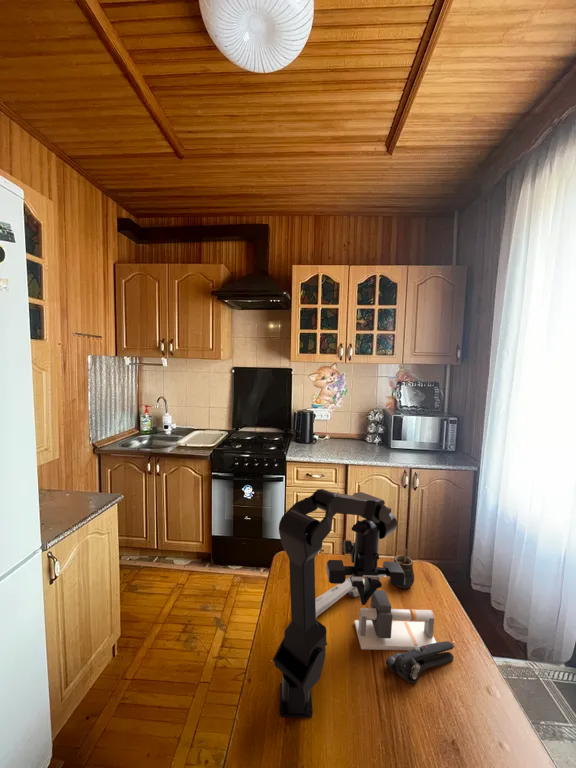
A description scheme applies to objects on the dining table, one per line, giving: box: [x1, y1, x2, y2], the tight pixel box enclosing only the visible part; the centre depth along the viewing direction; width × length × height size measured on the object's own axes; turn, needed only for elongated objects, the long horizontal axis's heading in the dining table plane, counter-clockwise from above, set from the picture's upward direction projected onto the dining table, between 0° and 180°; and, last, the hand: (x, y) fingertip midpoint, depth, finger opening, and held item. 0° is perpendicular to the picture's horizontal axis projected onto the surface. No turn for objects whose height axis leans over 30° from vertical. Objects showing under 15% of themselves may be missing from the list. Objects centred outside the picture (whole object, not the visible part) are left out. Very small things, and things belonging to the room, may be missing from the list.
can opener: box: [385, 640, 455, 684], centre depth 79 cm, size 18×7×6 cm, turn 111°
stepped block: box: [370, 589, 393, 638], centre depth 87 cm, size 8×3×8 cm, turn 1°
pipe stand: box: [354, 607, 438, 651], centre depth 87 cm, size 8×19×7 cm, turn 91°
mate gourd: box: [393, 547, 415, 590], centre depth 108 cm, size 7×8×10 cm
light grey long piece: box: [315, 576, 365, 618], centre depth 98 cm, size 5×7×25 cm
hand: (362, 603), depth 87 cm, fingers closed
